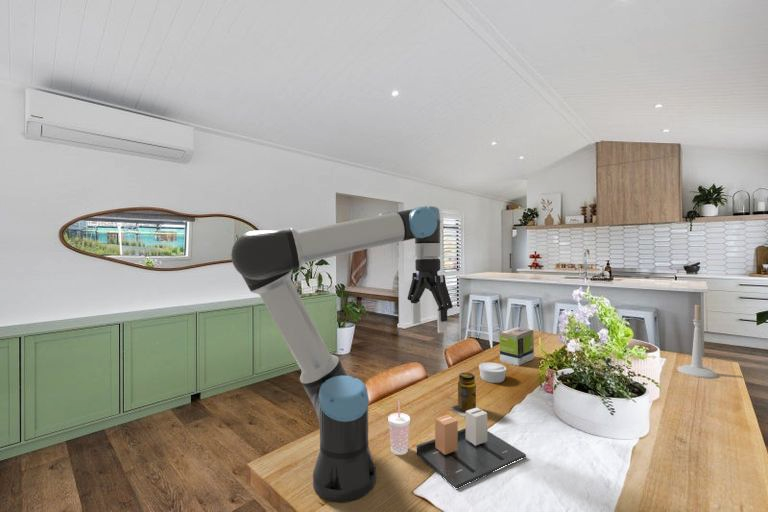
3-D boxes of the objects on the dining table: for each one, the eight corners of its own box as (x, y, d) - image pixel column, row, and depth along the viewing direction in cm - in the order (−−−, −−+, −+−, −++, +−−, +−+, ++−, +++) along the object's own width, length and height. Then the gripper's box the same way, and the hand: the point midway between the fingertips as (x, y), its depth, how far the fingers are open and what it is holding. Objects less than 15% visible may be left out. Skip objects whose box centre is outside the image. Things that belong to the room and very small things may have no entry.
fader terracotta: (444, 454, 92) (444, 424, 92) (435, 447, 96) (435, 418, 96) (457, 449, 94) (457, 420, 94) (447, 442, 98) (447, 414, 98)
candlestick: (724, 379, 145) (725, 307, 144) (686, 376, 149) (687, 305, 148) (706, 369, 157) (707, 302, 156) (671, 366, 161) (672, 301, 160)
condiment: (481, 410, 120) (481, 375, 120) (463, 417, 115) (463, 381, 115) (465, 402, 126) (465, 369, 126) (448, 408, 122) (448, 374, 121)
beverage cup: (392, 442, 101) (392, 394, 101) (413, 446, 99) (412, 397, 99) (385, 453, 96) (384, 403, 95) (406, 458, 93) (406, 406, 93)
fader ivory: (475, 445, 96) (475, 416, 96) (465, 438, 100) (465, 410, 100) (487, 441, 99) (487, 412, 98) (477, 434, 102) (477, 407, 102)
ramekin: (503, 386, 140) (503, 373, 140) (475, 381, 146) (475, 368, 146) (509, 377, 150) (509, 365, 150) (483, 372, 156) (483, 360, 156)
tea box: (515, 354, 180) (515, 326, 179) (534, 359, 172) (534, 329, 172) (499, 361, 170) (499, 330, 170) (518, 366, 163) (518, 334, 162)
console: (455, 489, 81) (455, 479, 81) (416, 454, 95) (416, 445, 95) (525, 458, 93) (525, 449, 93) (481, 430, 107) (481, 422, 107)
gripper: (464, 258, 97) (465, 334, 98) (415, 256, 119) (416, 318, 120) (442, 259, 94) (443, 338, 95) (396, 257, 116) (397, 321, 117)
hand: (428, 327), depth 107 cm, fingers open, 13 cm apart
